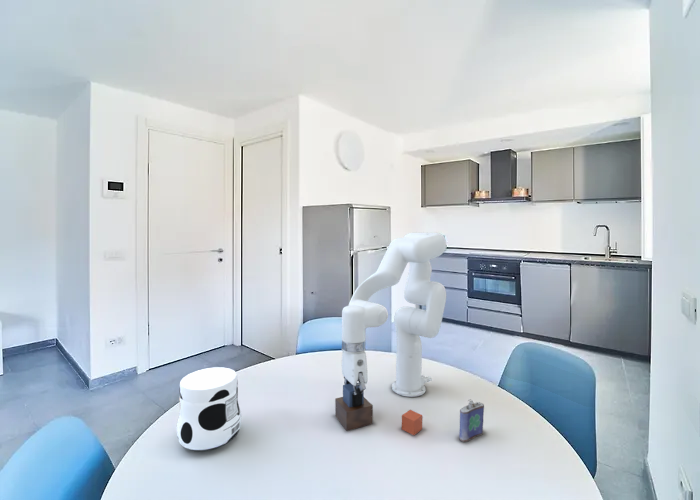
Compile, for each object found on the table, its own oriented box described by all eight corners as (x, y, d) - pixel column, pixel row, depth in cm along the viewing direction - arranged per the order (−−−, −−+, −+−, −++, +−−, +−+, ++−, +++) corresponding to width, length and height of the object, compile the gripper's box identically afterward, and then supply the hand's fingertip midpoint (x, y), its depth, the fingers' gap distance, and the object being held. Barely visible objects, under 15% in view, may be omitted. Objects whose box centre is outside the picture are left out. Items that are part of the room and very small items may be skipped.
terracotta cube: (410, 423, 107) (410, 409, 106) (422, 429, 103) (422, 415, 103) (401, 429, 103) (401, 415, 103) (413, 435, 100) (414, 421, 100)
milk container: (179, 428, 103) (177, 371, 102) (238, 416, 110) (237, 362, 109) (174, 464, 88) (172, 397, 86) (244, 448, 94) (243, 385, 93)
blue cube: (356, 396, 111) (356, 382, 111) (363, 404, 107) (363, 388, 106) (342, 400, 109) (342, 385, 109) (349, 407, 105) (349, 391, 104)
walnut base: (359, 410, 114) (359, 392, 114) (372, 424, 106) (372, 405, 106) (335, 416, 111) (335, 398, 110) (346, 431, 102) (346, 412, 102)
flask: (464, 443, 97) (464, 406, 96) (456, 438, 99) (456, 402, 99) (485, 433, 101) (486, 398, 101) (477, 428, 104) (477, 394, 103)
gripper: (377, 352, 101) (376, 411, 102) (352, 336, 116) (352, 387, 117) (354, 356, 98) (354, 417, 99) (332, 338, 113) (332, 392, 114)
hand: (353, 400), depth 108 cm, fingers closed on blue cube, 5 cm apart
